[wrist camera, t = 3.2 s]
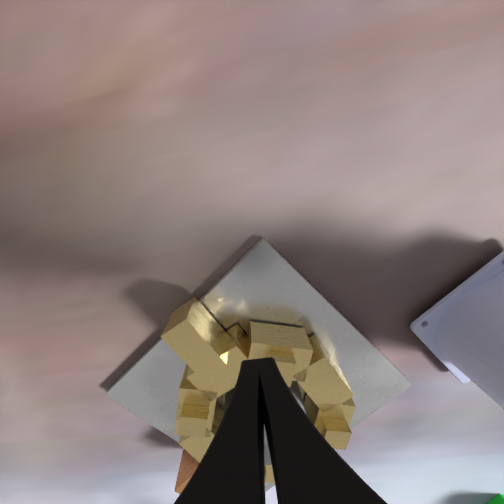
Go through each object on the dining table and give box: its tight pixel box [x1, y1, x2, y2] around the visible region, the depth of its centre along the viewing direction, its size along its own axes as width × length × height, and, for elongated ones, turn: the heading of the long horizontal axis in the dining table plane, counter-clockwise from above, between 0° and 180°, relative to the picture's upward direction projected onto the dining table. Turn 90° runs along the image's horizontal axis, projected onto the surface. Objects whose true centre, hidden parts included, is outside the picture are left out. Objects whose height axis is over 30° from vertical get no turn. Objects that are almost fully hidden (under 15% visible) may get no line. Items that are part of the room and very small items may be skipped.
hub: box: [105, 237, 412, 494], centre depth 19 cm, size 18×18×4 cm
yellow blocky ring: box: [160, 297, 356, 483], centre depth 18 cm, size 18×13×4 cm
